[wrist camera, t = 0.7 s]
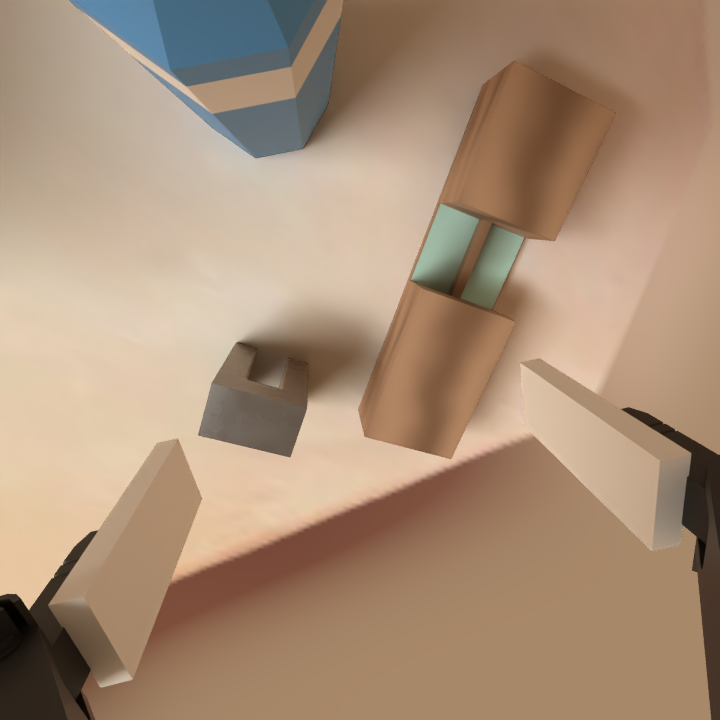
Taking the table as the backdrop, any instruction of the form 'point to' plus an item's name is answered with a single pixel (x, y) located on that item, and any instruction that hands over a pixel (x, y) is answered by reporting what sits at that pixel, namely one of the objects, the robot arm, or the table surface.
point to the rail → (478, 255)
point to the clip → (256, 405)
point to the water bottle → (235, 61)
